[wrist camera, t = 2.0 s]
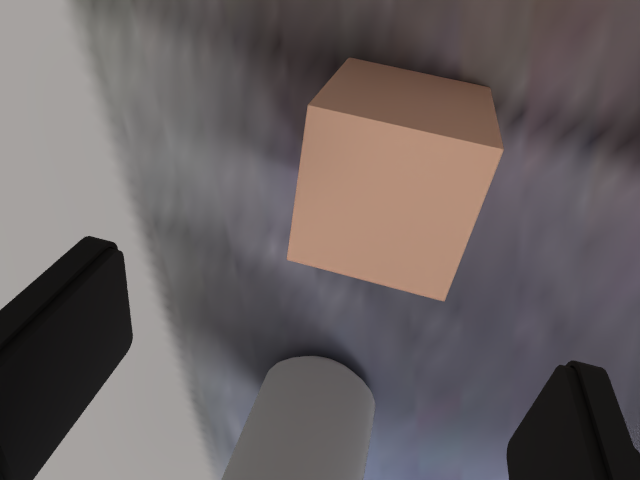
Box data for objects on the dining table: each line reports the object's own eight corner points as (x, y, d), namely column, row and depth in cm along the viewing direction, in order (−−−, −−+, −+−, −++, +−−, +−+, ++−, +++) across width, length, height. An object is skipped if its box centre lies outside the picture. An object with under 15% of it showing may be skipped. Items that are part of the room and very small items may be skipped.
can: (246, 371, 33) (156, 558, 23) (324, 329, 29) (258, 531, 19) (318, 437, 35) (264, 635, 25) (401, 405, 31) (376, 623, 21)
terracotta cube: (490, 87, 20) (503, 149, 14) (447, 210, 23) (444, 301, 18) (349, 57, 21) (307, 105, 15) (327, 181, 24) (286, 259, 18)
